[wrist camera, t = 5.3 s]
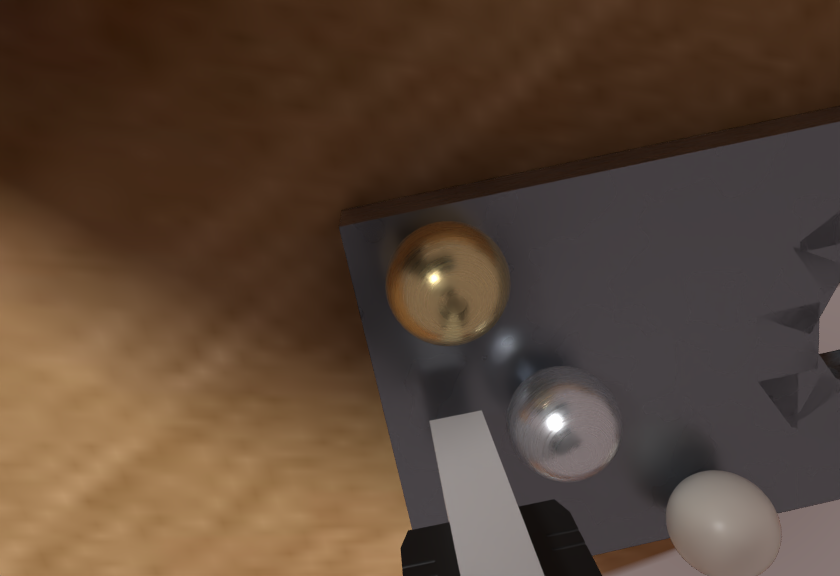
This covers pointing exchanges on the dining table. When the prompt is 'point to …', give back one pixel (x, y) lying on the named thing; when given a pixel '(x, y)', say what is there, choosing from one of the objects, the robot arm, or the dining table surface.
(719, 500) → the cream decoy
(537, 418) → the steel ball
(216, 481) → the dining table surface
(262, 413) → the dining table surface
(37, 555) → the dining table surface
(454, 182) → the dining table surface
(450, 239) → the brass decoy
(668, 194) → the plate
